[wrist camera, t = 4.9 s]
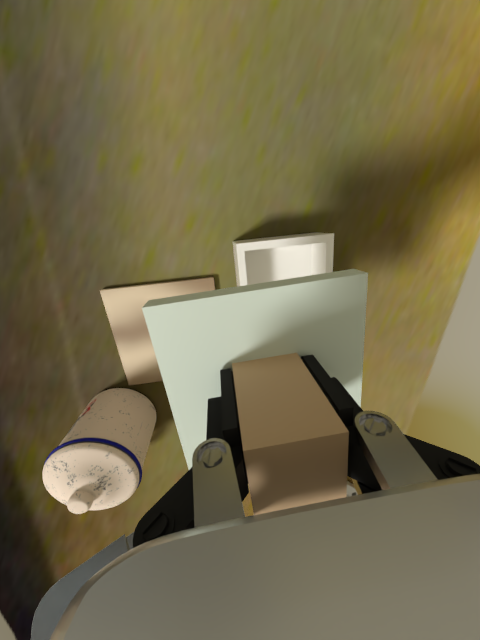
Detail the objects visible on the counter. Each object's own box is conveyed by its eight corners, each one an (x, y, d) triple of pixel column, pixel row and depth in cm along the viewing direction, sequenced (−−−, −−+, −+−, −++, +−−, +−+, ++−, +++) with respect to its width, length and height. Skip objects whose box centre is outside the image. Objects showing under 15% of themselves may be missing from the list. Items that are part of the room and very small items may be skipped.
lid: (348, 426, 16) (426, 542, 10) (191, 454, 15) (177, 592, 9) (353, 268, 12) (481, 306, 6) (148, 300, 12) (83, 371, 6)
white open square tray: (314, 310, 30) (330, 324, 26) (240, 320, 29) (244, 335, 25) (315, 232, 27) (334, 233, 22) (232, 241, 26) (235, 243, 22)
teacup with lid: (85, 381, 30) (13, 467, 19) (161, 388, 32) (134, 472, 21) (87, 454, 34) (27, 559, 23) (154, 457, 36) (128, 559, 25)
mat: (225, 369, 32) (226, 372, 31) (130, 382, 31) (129, 385, 30) (213, 276, 27) (213, 277, 27) (102, 289, 27) (99, 290, 26)
